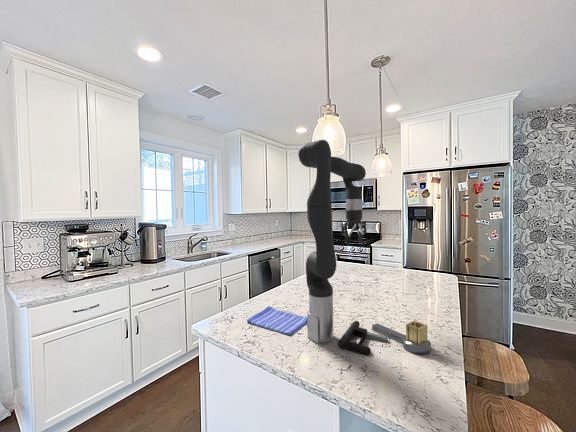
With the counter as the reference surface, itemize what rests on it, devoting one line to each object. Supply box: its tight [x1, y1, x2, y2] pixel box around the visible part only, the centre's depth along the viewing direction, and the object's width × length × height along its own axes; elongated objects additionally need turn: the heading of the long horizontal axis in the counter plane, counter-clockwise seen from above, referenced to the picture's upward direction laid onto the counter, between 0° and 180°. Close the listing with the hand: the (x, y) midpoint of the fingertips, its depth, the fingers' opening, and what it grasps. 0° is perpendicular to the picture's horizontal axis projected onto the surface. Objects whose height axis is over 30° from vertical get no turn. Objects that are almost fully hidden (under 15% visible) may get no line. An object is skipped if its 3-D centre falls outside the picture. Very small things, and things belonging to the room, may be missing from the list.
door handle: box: [337, 320, 389, 356], centre depth 101 cm, size 3×20×16 cm
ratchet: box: [371, 323, 432, 356], centre depth 100 cm, size 9×22×7 cm, turn 34°
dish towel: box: [246, 305, 307, 336], centre depth 119 cm, size 17×24×3 cm
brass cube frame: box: [405, 320, 429, 346], centre depth 94 cm, size 5×5×6 cm
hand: (354, 243), depth 125 cm, fingers open, 8 cm apart
